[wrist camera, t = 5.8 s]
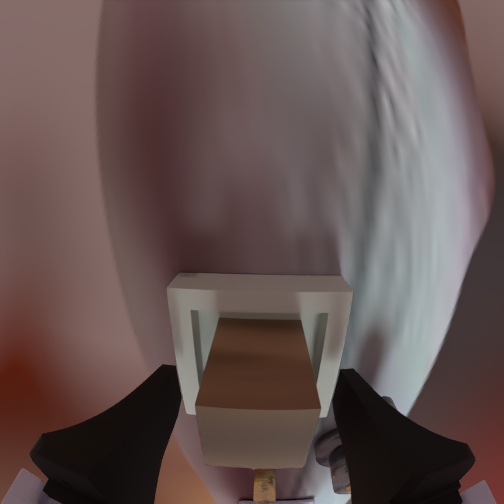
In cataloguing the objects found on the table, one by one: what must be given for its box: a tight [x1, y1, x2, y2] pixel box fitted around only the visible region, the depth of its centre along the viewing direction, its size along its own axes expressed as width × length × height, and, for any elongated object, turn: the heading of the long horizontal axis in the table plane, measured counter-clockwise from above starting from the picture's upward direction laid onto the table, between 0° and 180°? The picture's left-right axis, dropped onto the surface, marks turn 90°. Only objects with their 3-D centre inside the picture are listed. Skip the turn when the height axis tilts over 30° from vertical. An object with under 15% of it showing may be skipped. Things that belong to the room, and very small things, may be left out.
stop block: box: [195, 317, 321, 469], centre depth 11 cm, size 4×4×6 cm
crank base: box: [251, 428, 343, 504], centre depth 15 cm, size 6×10×4 cm, turn 89°
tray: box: [167, 272, 353, 418], centre depth 14 cm, size 8×8×2 cm
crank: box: [328, 396, 397, 494], centre depth 14 cm, size 9×3×3 cm, turn 179°
